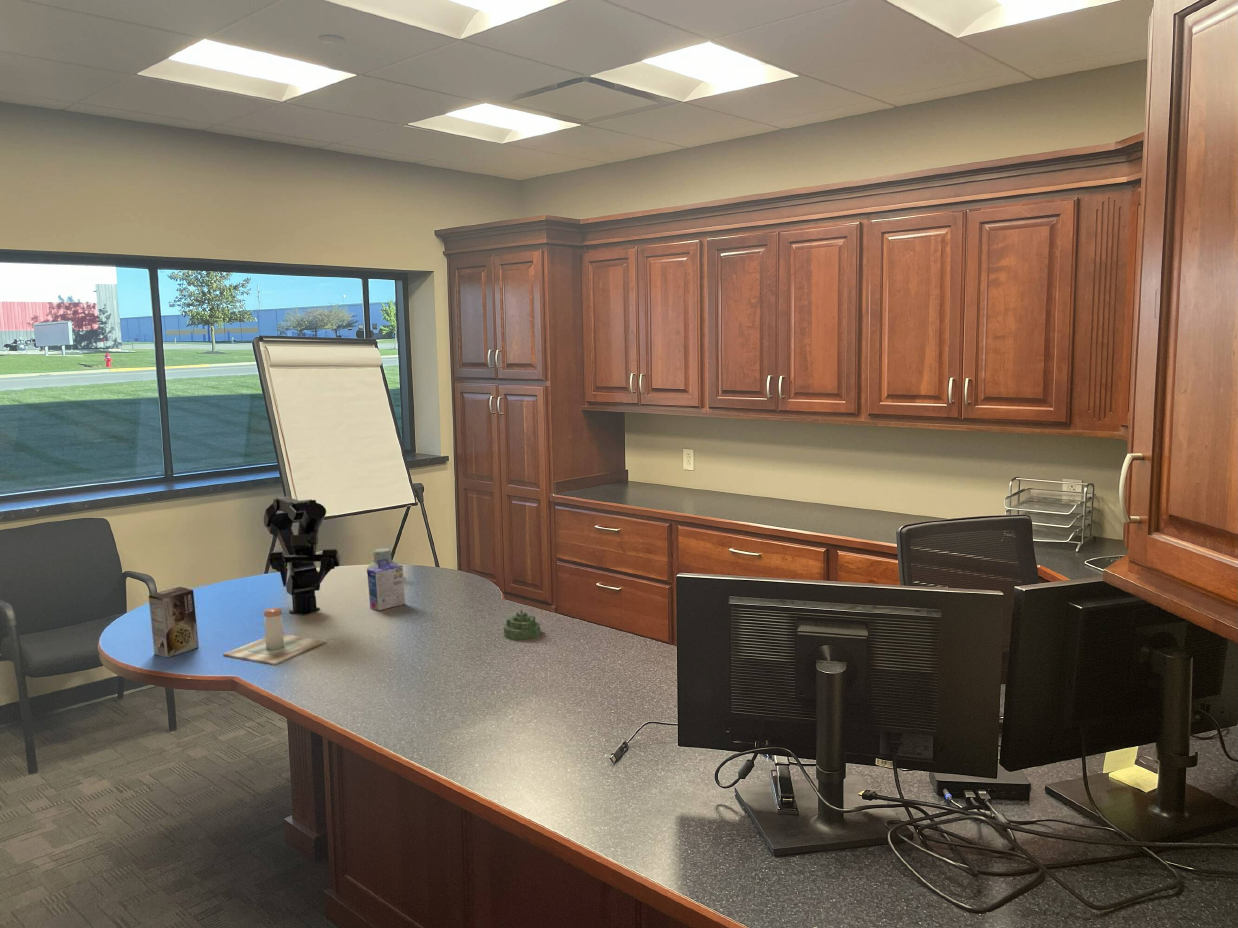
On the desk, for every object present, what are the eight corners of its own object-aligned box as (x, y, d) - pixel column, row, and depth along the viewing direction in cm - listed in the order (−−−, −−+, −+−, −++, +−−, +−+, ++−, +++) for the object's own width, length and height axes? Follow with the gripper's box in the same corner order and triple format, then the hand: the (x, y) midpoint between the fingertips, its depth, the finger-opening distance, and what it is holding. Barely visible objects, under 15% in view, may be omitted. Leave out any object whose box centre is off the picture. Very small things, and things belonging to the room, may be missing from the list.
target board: (223, 655, 234) (223, 653, 234) (276, 634, 250) (276, 632, 250) (274, 664, 226) (274, 662, 226) (325, 642, 242) (325, 640, 242)
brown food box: (184, 643, 244) (179, 586, 242) (199, 647, 241) (194, 589, 238) (152, 654, 236) (147, 594, 234) (167, 658, 233) (162, 597, 231)
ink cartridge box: (396, 600, 281) (394, 555, 279) (406, 604, 277) (404, 558, 276) (368, 607, 274) (365, 561, 272) (378, 611, 270) (375, 564, 268)
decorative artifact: (512, 627, 253) (497, 638, 244) (511, 603, 252) (496, 613, 243) (545, 630, 250) (531, 641, 241) (545, 605, 249) (531, 616, 240)
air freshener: (392, 573, 315) (391, 545, 314) (403, 577, 309) (402, 549, 308) (363, 578, 308) (361, 550, 307) (374, 583, 302) (372, 554, 301)
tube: (264, 645, 239) (262, 609, 238) (282, 643, 241) (280, 606, 240) (267, 650, 235) (265, 613, 234) (285, 647, 237) (283, 610, 236)
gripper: (267, 523, 252) (259, 571, 242) (335, 520, 254) (330, 568, 245) (276, 545, 261) (269, 592, 251) (342, 542, 263) (337, 588, 254)
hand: (301, 585), depth 250 cm, fingers open, 9 cm apart
